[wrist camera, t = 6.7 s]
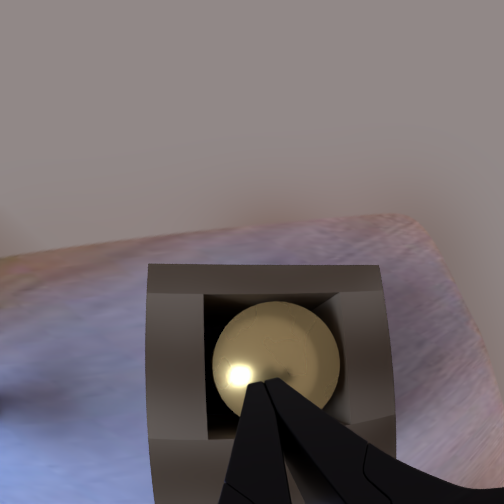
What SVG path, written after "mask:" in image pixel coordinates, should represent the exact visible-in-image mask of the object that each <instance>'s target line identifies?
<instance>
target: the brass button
mask: <svg viewBox="0 0 504 504" xmlns="http://www.w3.org/2000/svg"><path fill="white" fill-rule="evenodd" d="M339 371H340V358H339V351H338V348H337V344H336V342H335V339H334V337H333V335H332V333H331V331H330V330H329V328H328V327H327V326H326V324H325V323H324V322H323V321H322V320H321V319H320V318H319V317H318V316H316V315H315V314H314V313H312V312H311V311H309V310H308V309H306V308H304V307H301V306H299V305H296V304H293V303H288V302H278V301H274V302H265V303H260V304H257V305H254V306H251V307H249V308H248V309H246V310H244V311H242V312H241V313H239V314H238V315H237V316H235V317H234V318H233V319H232V320H231V321H230V322H229V323H228V325H227V326H226V327H225V328H224V330H223V331H222V333H221V335H220V337H219V339H218V341H217V343H216V345H215V347H214V350H213V352H212V354H211V357H210V362H209V376H210V380H211V383H212V386H213V388H214V390H215V391H216V393H217V394H218V395H219V397H220V398H221V399H222V400H223V401H224V402H225V403H226V405H227V406H228V407H229V408H230V409H231V410H232V411H233V412H234V413H236V414H237V415H238V416H240V414H241V410H242V406H243V402H244V397H245V393H246V389H247V385H248V384H249V383H254V382H258V381H262V382H263V383H264V381H265V380H267V379H271V378H276V377H278V378H280V379H282V380H283V381H284V382H286V383H287V384H288V385H290V386H291V387H292V388H294V389H295V390H296V391H298V392H299V393H300V394H302V395H303V396H304V397H306V398H307V399H308V400H310V401H311V402H312V403H314V404H315V405H316V406H318V407H319V408H321V409H322V408H323V407H324V406H325V405H326V403H327V402H328V401H329V399H330V398H331V396H332V394H333V392H334V390H335V387H336V385H337V382H338V377H339Z"/></svg>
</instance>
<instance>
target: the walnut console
mask: <svg viewBox="0 0 504 504" xmlns="http://www.w3.org/2000/svg"><path fill="white" fill-rule="evenodd" d="M274 301H278V302H288V303H293V304H296V305H299V306H301V307H304V308H306V309H308V310H309V311H311V312H312V313H314V314H315V315H316V316H318V317H319V318H320V319H321V320H322V321H323V322H324V323H325V324H326V326H327V327H328V328H329V330H330V331H331V333H332V335H333V337H334V339H335V342H336V344H337V348H338V351H339V358H340V371H339V377H338V382H337V385H336V387H335V390H334V392H333V394H332V396H331V398H330V399H329V401H328V402H327V403H326V405H325V406H324V407H323V408H322V410H323V411H325V412H326V413H327V414H329V415H330V416H332V417H333V418H334V419H336V420H337V421H339V422H340V423H342V424H343V425H344V426H346V427H347V428H349V429H350V430H352V431H353V432H355V433H356V434H358V435H359V436H360V437H362V438H363V439H365V440H366V441H368V443H371V444H373V445H374V446H376V447H377V448H379V449H380V450H382V451H383V452H385V453H387V454H388V455H390V456H392V457H394V458H395V459H396V416H395V395H394V380H393V367H392V356H391V346H390V337H389V329H388V321H387V313H386V306H385V299H384V293H383V286H382V280H381V274H380V268H379V265H207V264H148V279H147V299H146V334H145V374H146V408H147V427H148V442H149V455H150V466H151V476H152V485H153V493H154V501H155V504H218V501H219V498H220V494H221V491H222V487H223V484H224V480H225V476H226V472H227V468H228V464H229V460H230V456H231V452H232V447H233V443H234V439H235V435H236V431H237V427H238V423H239V419H240V416H238V415H237V414H217V415H207V413H206V391H205V362H204V326H227V325H228V323H229V322H230V321H231V320H232V319H233V318H234V317H235V316H237V315H238V314H239V313H241V312H242V311H244V310H246V309H248V308H249V307H251V306H254V305H257V304H260V303H265V302H274ZM284 461H285V460H284ZM285 467H286V473H287V479H288V484H289V490H290V496H291V501H292V504H306V503H305V501H304V499H303V497H302V495H301V493H300V491H299V489H298V487H297V485H296V483H295V481H294V479H293V477H292V475H291V473H290V471H289V469H288V467H287V465H286V463H285Z"/></svg>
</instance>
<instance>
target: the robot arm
mask: <svg viewBox="0 0 504 504" xmlns="http://www.w3.org/2000/svg"><path fill="white" fill-rule="evenodd" d="M284 460H285V461H284ZM285 463H286V465H287V467H288V469H289V471H290V473H291V475H292V477H293V479H294V481H295V483H296V485H297V487H298V489H299V491H300V493H301V495H302V497H303V499H304V501H305V503H306V504H504V487H502V488H491V489H471V488H465V487H461V486H457V485H455V484H452V483H449V482H447V481H444V480H442V479H439V478H437V477H434V476H432V475H430V474H427V473H425V472H422V471H420V470H418V469H416V468H413V467H411V466H409V465H407V464H405V463H403V462H401V461H399V460H397V459H395V458H394V457H392V456H390V455H388V454H387V453H385V452H383V451H382V450H380V449H379V448H377V447H376V446H374V445H373V444H371V443H368V441H366V440H365V439H363V438H362V437H360V436H359V435H358V434H356V433H355V432H353V431H352V430H350V429H349V428H347V427H346V426H344V425H343V424H342V423H340V422H339V421H337V420H336V419H334V418H333V417H332V416H330V415H329V414H327V413H326V412H325V411H323V410H322V409H321V408H319V407H318V406H316V405H315V404H314V403H312V402H311V401H310V400H308V399H307V398H306V397H304V396H303V395H302V394H300V393H299V392H298V391H296V390H295V389H294V388H292V387H291V386H290V385H288V384H287V383H286V382H284V381H283V380H282V379H280V378H278V377H276V378H271V379H267V380H265V381H264V383H263V382H262V381H258V382H254V383H249V384H248V385H247V389H246V393H245V397H244V402H243V406H242V410H241V414H240V419H239V423H238V427H237V431H236V435H235V439H234V443H233V447H232V452H231V456H230V460H229V464H228V468H227V472H226V476H225V480H224V484H223V487H222V491H221V494H220V498H219V501H218V504H292V501H291V496H290V490H289V484H288V479H287V473H286V467H285Z"/></svg>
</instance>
